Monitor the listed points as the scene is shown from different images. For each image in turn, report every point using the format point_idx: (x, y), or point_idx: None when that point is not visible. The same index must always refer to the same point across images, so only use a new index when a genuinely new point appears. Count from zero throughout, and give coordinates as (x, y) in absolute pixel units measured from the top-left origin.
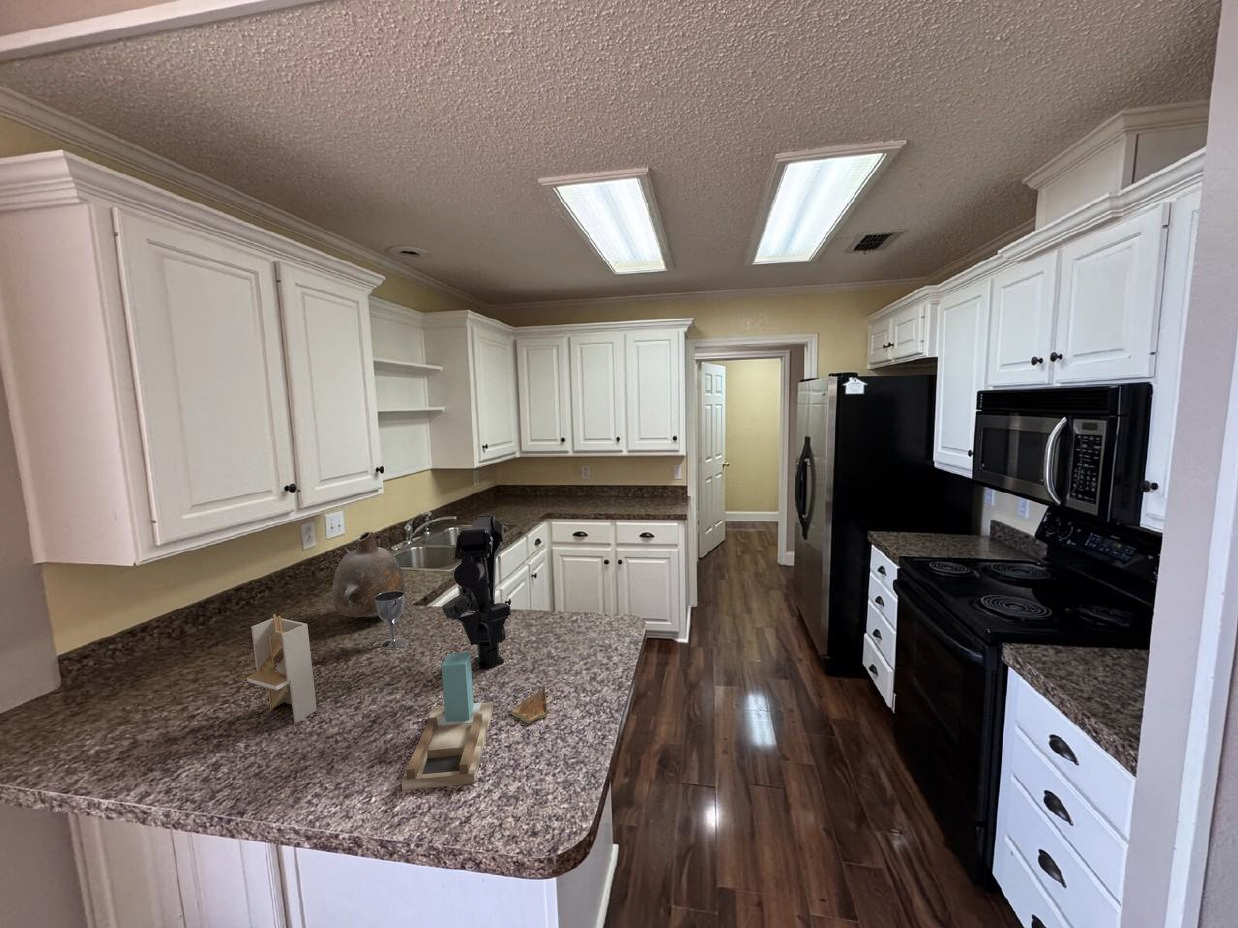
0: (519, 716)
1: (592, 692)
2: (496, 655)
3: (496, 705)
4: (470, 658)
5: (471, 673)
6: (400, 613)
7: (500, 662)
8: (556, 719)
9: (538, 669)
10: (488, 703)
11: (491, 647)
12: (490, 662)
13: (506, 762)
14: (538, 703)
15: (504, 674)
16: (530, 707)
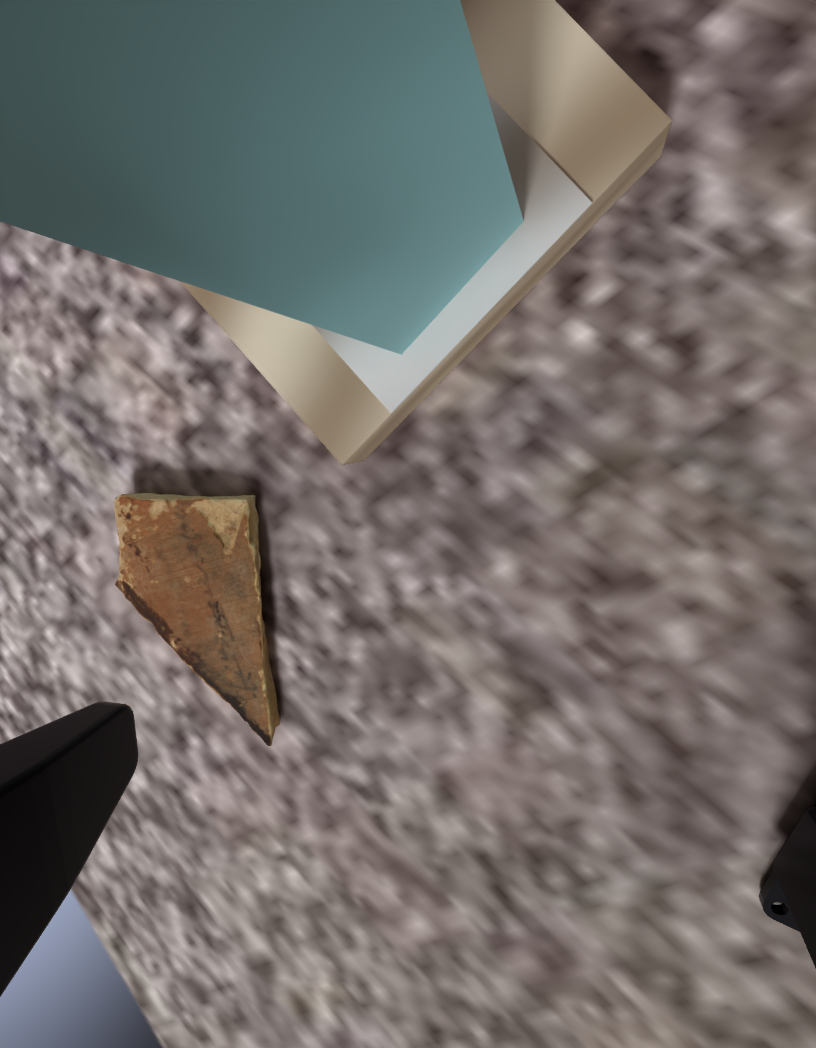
0: (195, 497)
1: (121, 811)
2: (803, 920)
3: (384, 503)
4: (58, 232)
5: (252, 300)
6: None
7: (772, 882)
8: (89, 585)
9: (468, 894)
10: (351, 439)
11: (86, 707)
12: (813, 838)
13: (20, 245)
14: (184, 618)
15: (621, 775)
16: (182, 569)
